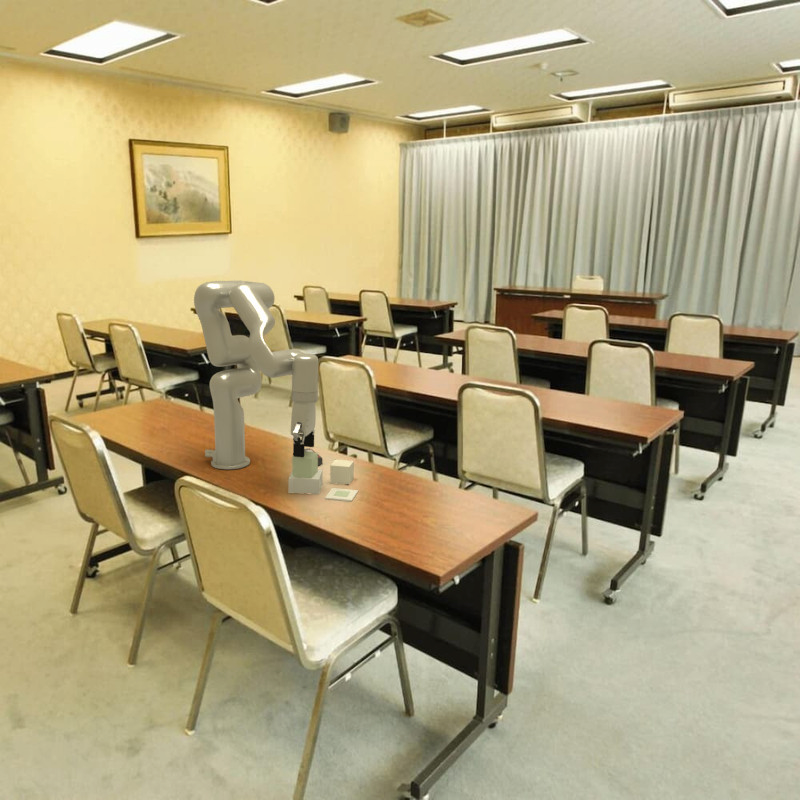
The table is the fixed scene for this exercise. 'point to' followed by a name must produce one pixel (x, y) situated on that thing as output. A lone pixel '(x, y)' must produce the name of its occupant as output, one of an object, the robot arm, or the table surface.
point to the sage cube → (305, 465)
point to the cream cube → (342, 471)
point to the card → (341, 494)
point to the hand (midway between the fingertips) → (303, 451)
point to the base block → (306, 483)
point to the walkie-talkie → (318, 455)
